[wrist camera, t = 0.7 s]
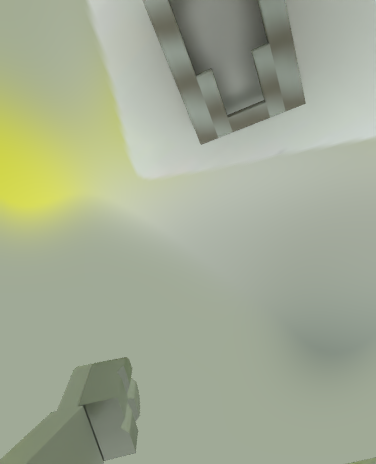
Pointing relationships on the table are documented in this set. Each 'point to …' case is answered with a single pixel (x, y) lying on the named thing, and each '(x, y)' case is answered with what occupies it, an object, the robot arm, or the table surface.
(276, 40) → the wood and metal frame
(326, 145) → the table surface
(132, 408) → the robot arm
